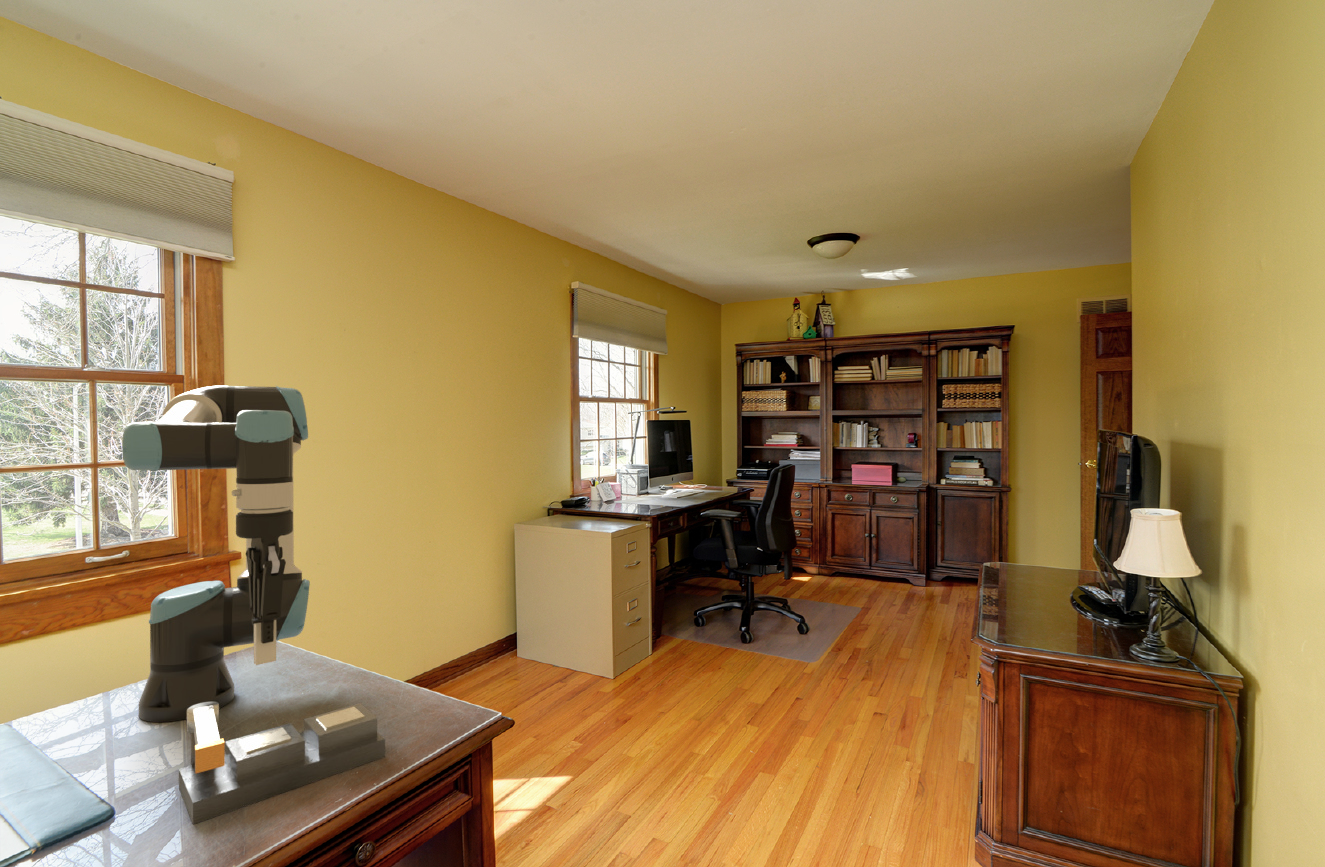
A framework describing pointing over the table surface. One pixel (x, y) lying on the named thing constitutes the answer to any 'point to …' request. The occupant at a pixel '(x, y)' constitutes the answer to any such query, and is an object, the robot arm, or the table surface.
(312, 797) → the table surface
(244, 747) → the grey stepped block base
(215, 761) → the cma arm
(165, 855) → the table surface
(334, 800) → the table surface
